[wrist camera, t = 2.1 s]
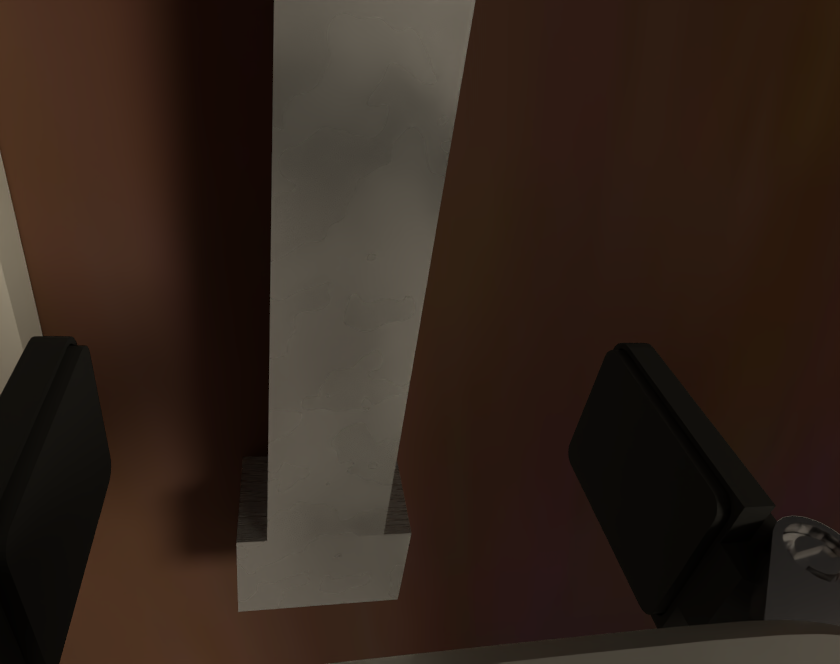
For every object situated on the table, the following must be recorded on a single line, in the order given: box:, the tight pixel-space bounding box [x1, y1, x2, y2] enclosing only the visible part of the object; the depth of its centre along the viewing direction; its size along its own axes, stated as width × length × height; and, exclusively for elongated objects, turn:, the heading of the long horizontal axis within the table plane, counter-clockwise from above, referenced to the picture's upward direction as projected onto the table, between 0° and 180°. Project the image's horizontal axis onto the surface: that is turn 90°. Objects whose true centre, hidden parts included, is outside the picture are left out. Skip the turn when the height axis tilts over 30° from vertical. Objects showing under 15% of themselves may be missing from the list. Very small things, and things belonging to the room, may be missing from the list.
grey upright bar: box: [236, 0, 475, 612], centre depth 18 cm, size 28×6×4 cm, turn 172°
